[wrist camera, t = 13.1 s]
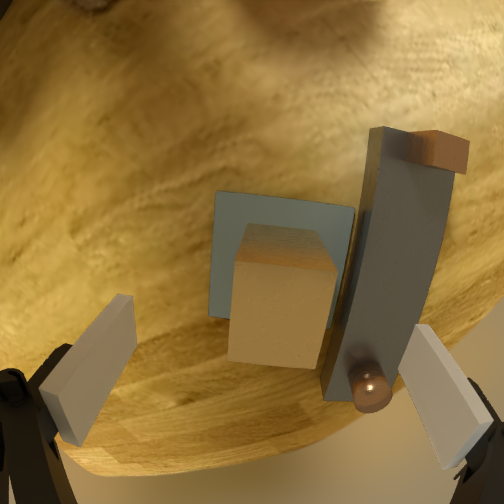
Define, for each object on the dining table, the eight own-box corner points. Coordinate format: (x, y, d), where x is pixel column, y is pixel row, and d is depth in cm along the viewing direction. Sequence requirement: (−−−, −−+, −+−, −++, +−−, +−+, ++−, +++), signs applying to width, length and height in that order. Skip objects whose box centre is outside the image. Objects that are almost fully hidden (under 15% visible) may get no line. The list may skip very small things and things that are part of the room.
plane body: (377, 380, 27) (397, 431, 21) (319, 378, 27) (328, 434, 21) (438, 146, 20) (491, 149, 14) (369, 128, 20) (408, 121, 14)
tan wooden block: (303, 304, 24) (315, 369, 17) (240, 297, 25) (226, 360, 17) (316, 230, 22) (338, 271, 15) (247, 222, 23) (234, 260, 15)
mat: (209, 312, 26) (208, 316, 25) (217, 190, 23) (216, 191, 22) (328, 325, 26) (329, 328, 25) (352, 207, 22) (354, 208, 22)
